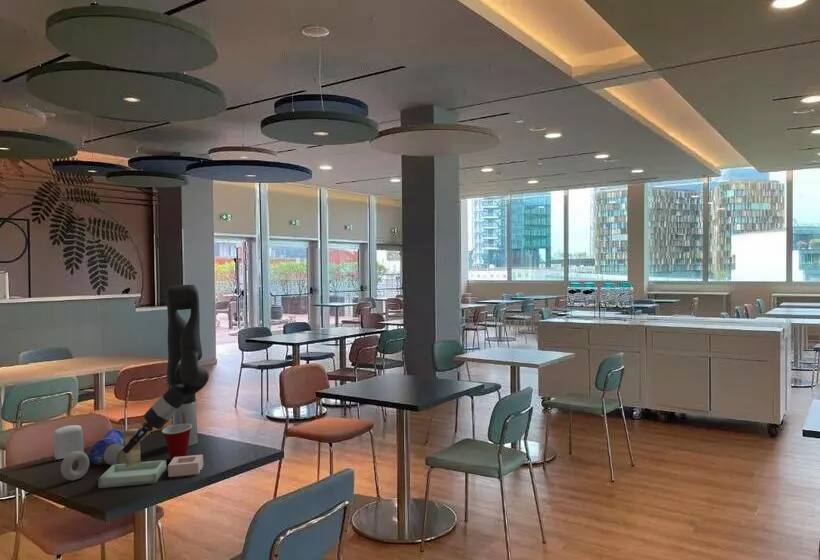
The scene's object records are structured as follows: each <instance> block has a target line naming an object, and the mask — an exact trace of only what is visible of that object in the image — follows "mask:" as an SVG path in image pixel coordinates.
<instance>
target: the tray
mask: <svg viewBox="0 0 820 560" xmlns="http://www.w3.org/2000/svg"><path fill="white" fill-rule="evenodd" d="M166 470H167V460H166V459H163V460H162V459H160V460H149V461H141V465H139V466H136V467H126V463H125V464H114V465H110V467H109V468H108V469H106V471H105V472H104V473H103V474H102V475H101V476H100V477H99V478H98V479H97V483H98V484H97V487H98V489H106V488H117V487H127V486H137V485H149V484H156V483H157V482H158V481H159V479H160V478H161V476H162V475H163V473H164V472H165V471H166Z"/></svg>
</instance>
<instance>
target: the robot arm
mask: <svg viewBox="0 0 820 560" xmlns="http://www.w3.org/2000/svg"><path fill="white" fill-rule="evenodd" d="M165 296H166V307H167V308H166V309H167V352H168V353H167V355H168V357H167V366H166V367H167V369H166V381H167V384H168V386H169V389H167V390H166V391H165V393H164V394H163V395H162V396H161V397H159V398H158V399H157V400H156V401H155V402H154V403H153V405H151V407H150V408H149V409H148V410H147V411H146V412H145V413H144V414H143V418H144V422H143V423H142V424H141V425H140V426H139V428H137V429H138V430H137V431H136V432H135V433H134V436H133V437H132V438H131V439H130V441H129V443H128V444H127V445H126V446H125V447H124V448H123V449H122V451H123V452H125V453H126V454H127V453H128V452H129V451H130V450H131V449H132V448H133V447H134V446H135V445H137V443H138V442H139V441H140V442H142V441H143V440H144V439H145V438H146V437H147V436H148V435H150V434H151V433H152V431H153V430H154V428H155V429H157V430H160V429H162V428H163V427H164V426H165V425H166V424H167V423H168V422H169V421H170V420H171V418H172V425H177V424H191V425H192V427H191V431H190V437H189V446H194V445H196V444H198V442H199V441H198V440H199V439H198V417H197V415H198V414H197V396H196V394H197V393H199V392H200V391H201V390H202V389H203V388H205V386H206V385H207V383H208V382H209V377H210V373H209V372H208V371H207V369H205V368H203V367H200V366H199V364H198V362H199V361H200V360H202V358H203V350H202V342H201V336H200V334H201V332H200V322H201V321H200V320H201V319H200V315H201V314H200V297H199V296H200V295H199V290H198V288H197V286H196V285H195V284H179V285H178V284H177V285H170V286H169V287H167V291H166V295H165ZM185 310H190V315H189V318H188V321H186V320H185V319H183V318H182V316H181V315H180V314H179V311H185ZM145 421H146V422H145ZM134 438H135V439H136V440H137V442H136V441H134V440H133V439H134Z"/></svg>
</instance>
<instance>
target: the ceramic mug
mask: <svg viewBox="0 0 820 560" xmlns="http://www.w3.org/2000/svg"><path fill="white" fill-rule="evenodd" d="M124 447H125V446H122V445H119V444H112V445H110V446H108V447H107V449H106V450H105V452H104V461H105V462H106V464H107V465H108V466H109V465H110V466H112V465H114V464H125V463H126V461H125V452H123V451H122V449H123V448H124Z"/></svg>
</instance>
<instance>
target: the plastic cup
mask: <svg viewBox="0 0 820 560" xmlns="http://www.w3.org/2000/svg"><path fill="white" fill-rule="evenodd" d="M191 427H192V425H191V424H177V425H173V424H172V425H170V426H166V427H164V428H163V429H162V430H161V433H162V434H163V436H164V438H165V441H166V447H167V450H168V453H169V457H170V460H171V461H172V459H173V458H174V457H181V456H188V451H189V437H190V431H191Z"/></svg>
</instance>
